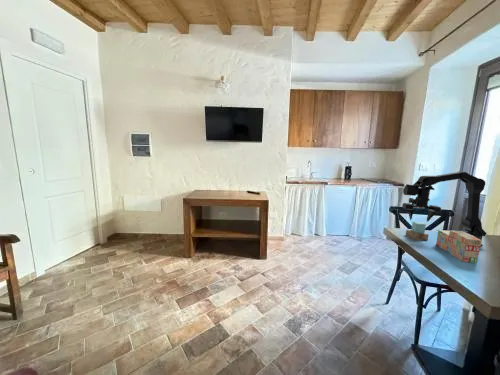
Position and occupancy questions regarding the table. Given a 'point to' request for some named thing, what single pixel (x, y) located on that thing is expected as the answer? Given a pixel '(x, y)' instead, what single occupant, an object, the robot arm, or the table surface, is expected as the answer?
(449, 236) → the stack of blocks
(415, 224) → the teal block
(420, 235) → the walnut base block
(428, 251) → the table surface
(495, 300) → the table surface
